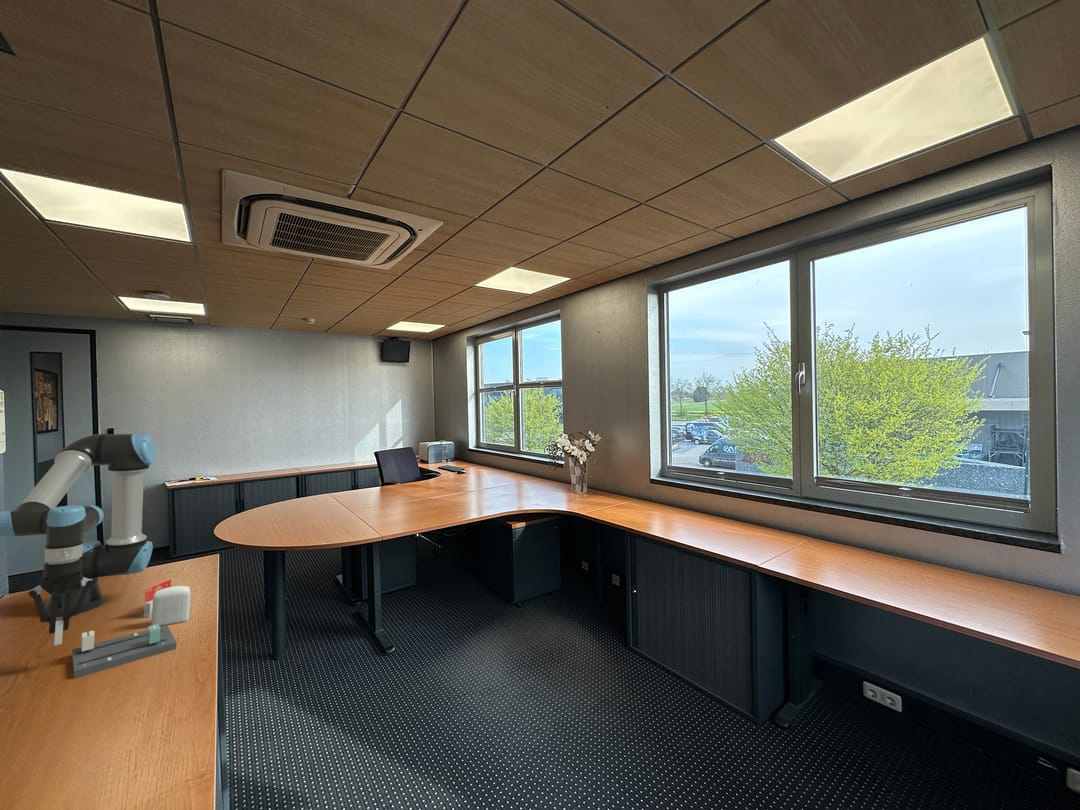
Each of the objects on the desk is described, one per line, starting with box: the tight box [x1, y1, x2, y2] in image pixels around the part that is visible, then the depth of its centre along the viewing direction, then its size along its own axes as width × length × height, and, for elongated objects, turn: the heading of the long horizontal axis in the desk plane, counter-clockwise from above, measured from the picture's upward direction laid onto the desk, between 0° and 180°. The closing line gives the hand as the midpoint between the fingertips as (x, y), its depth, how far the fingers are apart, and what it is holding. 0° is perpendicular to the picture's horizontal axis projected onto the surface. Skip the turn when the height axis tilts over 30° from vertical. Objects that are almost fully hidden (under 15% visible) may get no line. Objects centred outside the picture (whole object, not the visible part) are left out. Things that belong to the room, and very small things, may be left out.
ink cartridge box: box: [142, 578, 172, 619], centre depth 163 cm, size 2×11×10 cm, turn 179°
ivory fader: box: [80, 630, 96, 652], centre depth 132 cm, size 4×2×5 cm, turn 49°
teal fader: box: [147, 624, 161, 644], centre depth 137 cm, size 4×2×5 cm, turn 49°
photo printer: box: [150, 585, 192, 627], centre depth 154 cm, size 10×4×12 cm, turn 123°
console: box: [71, 624, 177, 679], centre depth 135 cm, size 16×22×2 cm
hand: (57, 642), depth 127 cm, fingers closed
